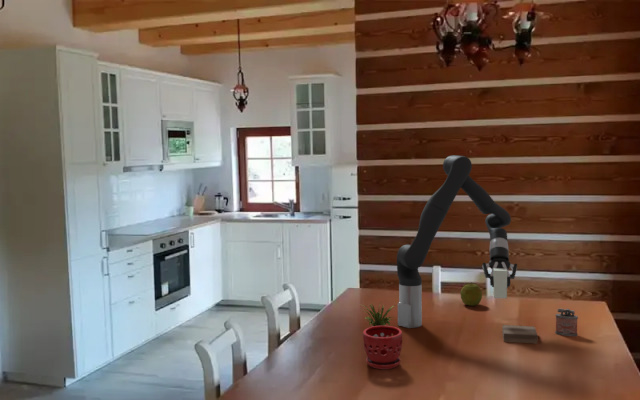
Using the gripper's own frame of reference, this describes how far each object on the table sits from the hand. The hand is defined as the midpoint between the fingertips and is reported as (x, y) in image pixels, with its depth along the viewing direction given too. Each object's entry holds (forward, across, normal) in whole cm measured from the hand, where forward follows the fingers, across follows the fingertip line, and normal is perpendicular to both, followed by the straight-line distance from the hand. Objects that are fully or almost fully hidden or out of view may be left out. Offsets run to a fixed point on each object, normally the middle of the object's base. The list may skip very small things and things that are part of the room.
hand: (500, 286), depth 242 cm
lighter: (+13, +25, +13) cm, 31 cm away
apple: (-15, -11, +41) cm, 45 cm away
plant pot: (+47, -41, -21) cm, 65 cm away
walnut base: (+18, +7, +7) cm, 21 cm away
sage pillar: (+2, 0, +5) cm, 5 cm away
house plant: (+32, -46, -6) cm, 56 cm away
